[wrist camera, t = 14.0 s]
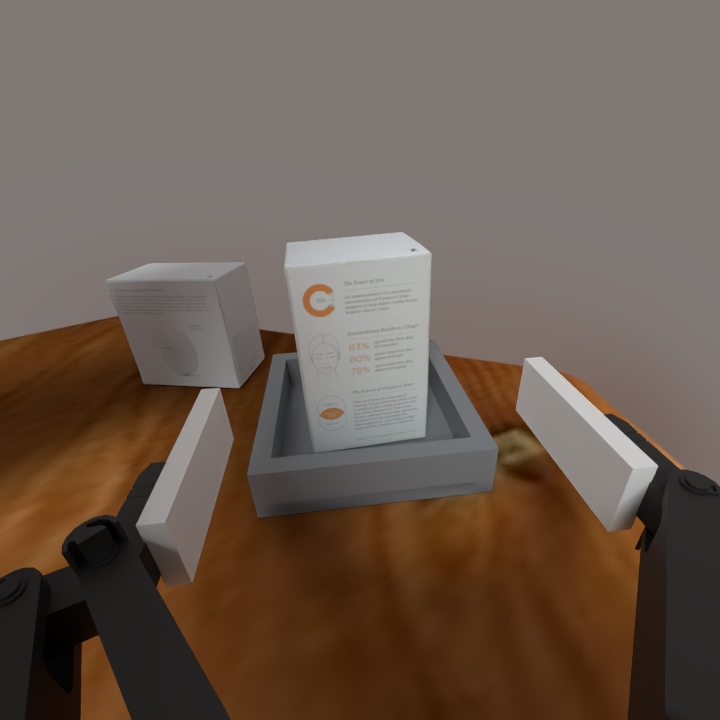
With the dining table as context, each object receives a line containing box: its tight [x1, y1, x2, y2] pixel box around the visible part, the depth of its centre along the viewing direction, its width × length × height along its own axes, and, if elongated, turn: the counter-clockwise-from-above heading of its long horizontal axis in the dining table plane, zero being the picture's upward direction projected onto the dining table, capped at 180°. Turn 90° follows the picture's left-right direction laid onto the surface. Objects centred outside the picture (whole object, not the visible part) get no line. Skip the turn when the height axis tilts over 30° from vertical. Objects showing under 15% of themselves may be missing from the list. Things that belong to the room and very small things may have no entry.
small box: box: [284, 232, 432, 453], centre depth 26 cm, size 8×6×13 cm
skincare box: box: [106, 262, 265, 388], centre depth 37 cm, size 10×6×10 cm, turn 80°
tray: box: [247, 340, 499, 518], centre depth 29 cm, size 14×14×4 cm
